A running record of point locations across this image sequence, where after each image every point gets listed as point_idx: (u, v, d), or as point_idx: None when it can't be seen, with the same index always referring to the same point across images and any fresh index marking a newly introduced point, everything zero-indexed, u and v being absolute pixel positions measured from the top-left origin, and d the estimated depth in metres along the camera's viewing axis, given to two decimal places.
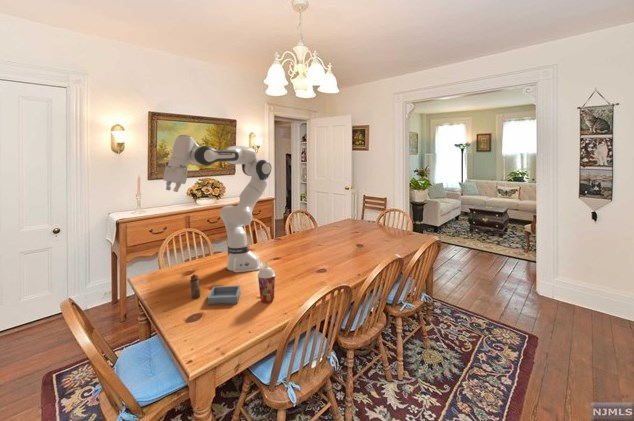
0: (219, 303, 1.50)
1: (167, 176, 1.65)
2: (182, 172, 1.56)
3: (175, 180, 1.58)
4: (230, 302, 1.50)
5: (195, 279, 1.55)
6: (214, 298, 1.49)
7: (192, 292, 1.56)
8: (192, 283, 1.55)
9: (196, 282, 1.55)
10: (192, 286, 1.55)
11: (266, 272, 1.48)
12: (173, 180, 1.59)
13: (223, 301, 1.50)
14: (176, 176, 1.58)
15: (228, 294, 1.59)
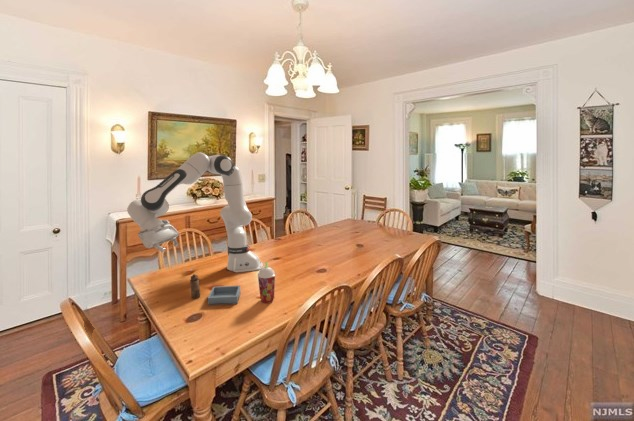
0: (219, 303, 1.50)
1: None
2: (141, 239, 1.49)
3: None
4: (230, 302, 1.50)
5: (195, 279, 1.55)
6: (214, 298, 1.49)
7: (192, 292, 1.56)
8: (192, 283, 1.55)
9: (196, 282, 1.55)
10: (192, 286, 1.55)
11: (266, 272, 1.48)
12: None
13: (223, 301, 1.50)
14: None
15: (228, 294, 1.59)
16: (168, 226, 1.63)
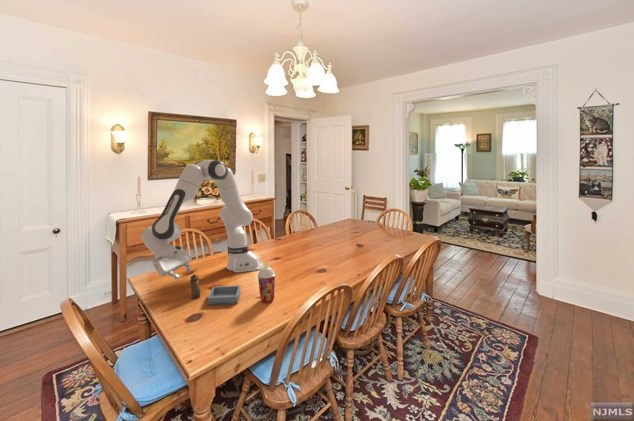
0: (219, 303, 1.50)
1: None
2: (155, 267, 1.49)
3: None
4: (230, 302, 1.50)
5: (195, 279, 1.55)
6: (214, 298, 1.49)
7: (192, 292, 1.56)
8: (192, 283, 1.55)
9: (196, 282, 1.55)
10: (192, 286, 1.55)
11: (266, 272, 1.48)
12: None
13: (223, 301, 1.50)
14: None
15: (228, 294, 1.59)
16: (181, 252, 1.64)
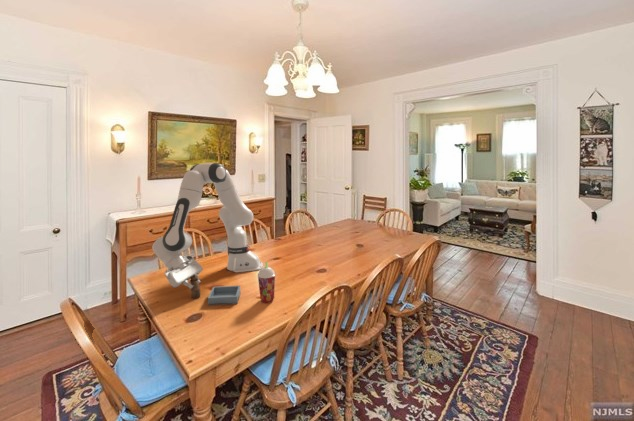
0: (219, 303, 1.50)
1: None
2: (168, 278, 1.49)
3: None
4: (230, 302, 1.50)
5: (195, 279, 1.55)
6: (214, 298, 1.49)
7: (192, 292, 1.56)
8: (192, 283, 1.55)
9: (196, 282, 1.55)
10: None
11: (266, 272, 1.48)
12: None
13: (223, 301, 1.50)
14: None
15: (228, 294, 1.59)
16: (192, 262, 1.63)
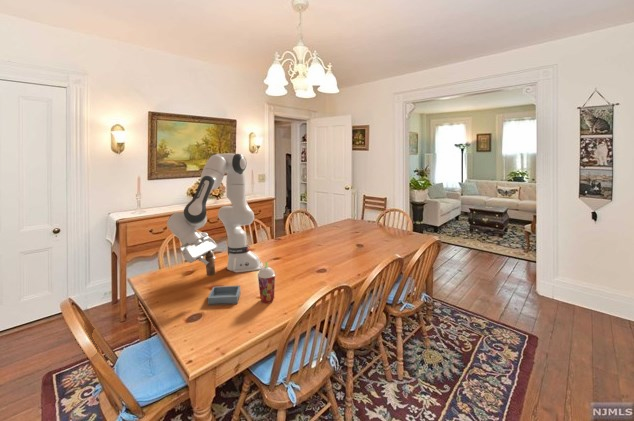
0: (219, 303, 1.50)
1: None
2: (183, 254, 1.45)
3: None
4: (230, 302, 1.50)
5: (210, 255, 1.52)
6: (214, 298, 1.49)
7: (207, 269, 1.52)
8: (207, 259, 1.51)
9: (211, 258, 1.52)
10: None
11: (266, 272, 1.48)
12: None
13: (223, 301, 1.50)
14: None
15: (228, 294, 1.59)
16: (207, 239, 1.60)
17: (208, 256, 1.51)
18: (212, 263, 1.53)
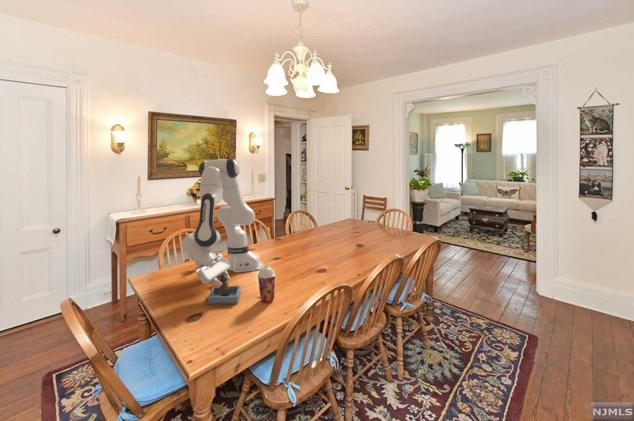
0: (219, 303, 1.50)
1: None
2: (198, 275, 1.46)
3: None
4: (230, 302, 1.50)
5: (225, 279, 1.53)
6: (214, 298, 1.49)
7: (222, 292, 1.54)
8: None
9: (226, 282, 1.53)
10: (222, 286, 1.53)
11: (266, 272, 1.48)
12: None
13: (223, 301, 1.50)
14: None
15: None
16: (220, 259, 1.61)
17: (222, 280, 1.53)
18: (226, 286, 1.54)
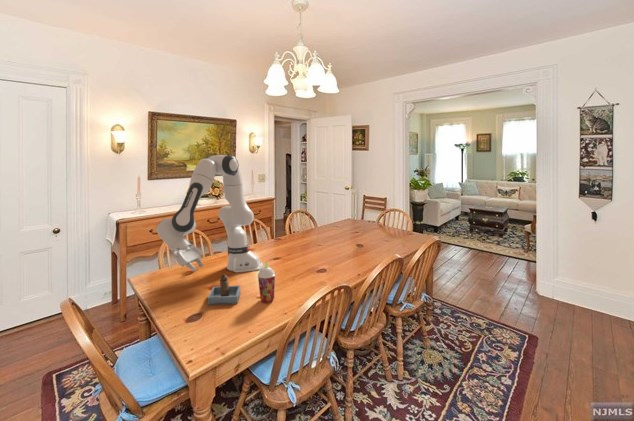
0: (219, 303, 1.50)
1: None
2: (175, 257, 1.49)
3: None
4: (230, 302, 1.50)
5: (225, 279, 1.53)
6: (214, 298, 1.49)
7: (222, 292, 1.54)
8: (222, 283, 1.53)
9: (226, 282, 1.53)
10: (222, 286, 1.53)
11: (266, 272, 1.48)
12: None
13: (223, 301, 1.50)
14: None
15: None
16: (193, 247, 1.65)
17: (223, 280, 1.53)
18: (226, 286, 1.54)
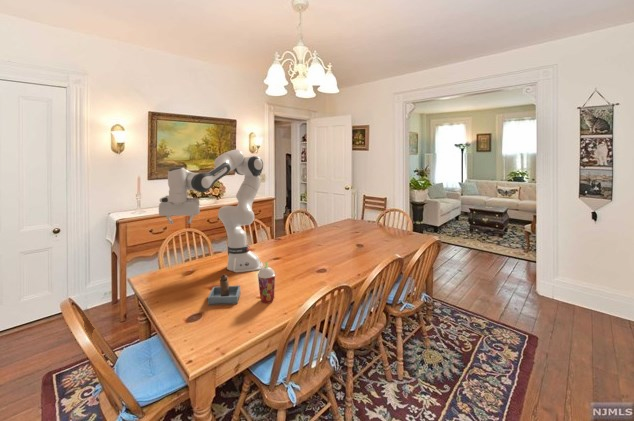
0: (219, 303, 1.50)
1: (168, 211, 1.65)
2: (197, 205, 1.66)
3: (190, 213, 1.66)
4: (230, 302, 1.50)
5: (225, 279, 1.53)
6: (214, 298, 1.49)
7: (222, 292, 1.54)
8: (222, 283, 1.53)
9: (226, 282, 1.53)
10: (222, 286, 1.53)
11: (266, 272, 1.48)
12: (185, 214, 1.66)
13: (223, 301, 1.50)
14: (189, 210, 1.66)
15: None
16: None
17: (223, 280, 1.53)
18: (226, 286, 1.54)
